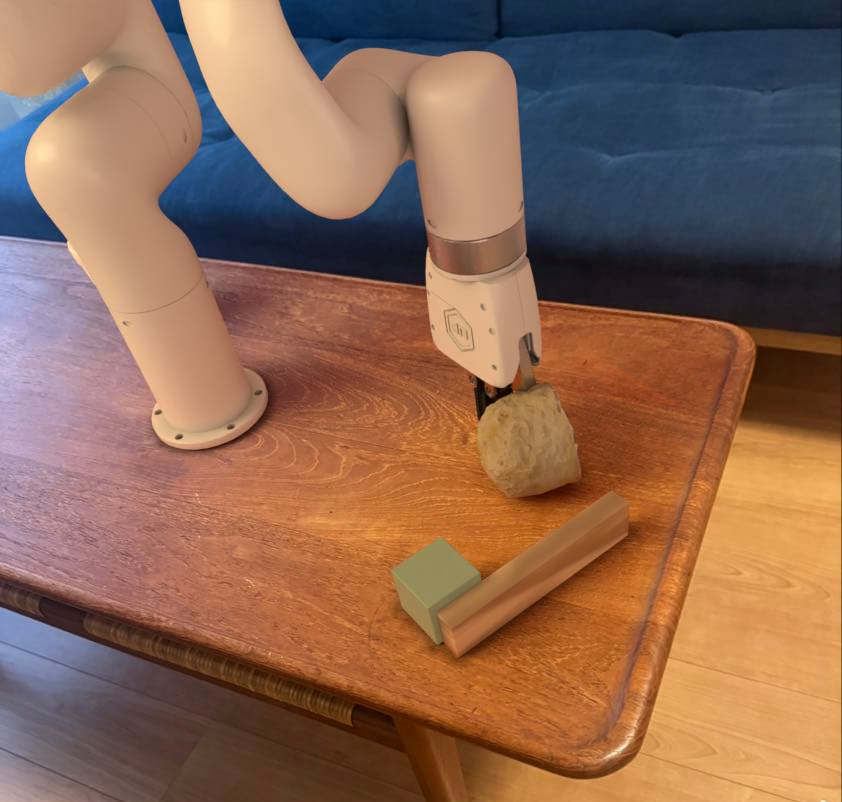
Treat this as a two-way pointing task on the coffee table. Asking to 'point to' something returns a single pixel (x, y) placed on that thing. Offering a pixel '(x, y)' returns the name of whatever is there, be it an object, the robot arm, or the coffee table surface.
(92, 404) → the coffee table surface
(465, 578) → the block
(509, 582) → the straightedge
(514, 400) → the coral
